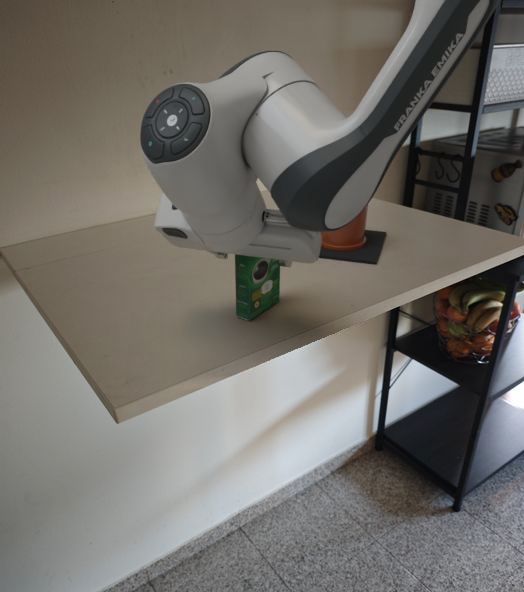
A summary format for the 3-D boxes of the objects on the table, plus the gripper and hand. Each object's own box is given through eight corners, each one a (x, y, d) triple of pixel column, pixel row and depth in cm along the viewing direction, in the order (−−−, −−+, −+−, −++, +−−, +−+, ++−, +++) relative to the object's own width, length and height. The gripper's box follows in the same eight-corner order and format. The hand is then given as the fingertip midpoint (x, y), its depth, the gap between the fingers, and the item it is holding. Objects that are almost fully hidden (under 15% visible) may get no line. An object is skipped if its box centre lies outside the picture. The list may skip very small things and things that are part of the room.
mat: (386, 234, 102) (386, 231, 102) (376, 264, 90) (376, 262, 89) (310, 226, 107) (310, 223, 106) (290, 254, 94) (290, 251, 94)
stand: (369, 235, 100) (373, 198, 96) (361, 253, 93) (366, 214, 89) (321, 230, 103) (323, 193, 99) (310, 247, 95) (312, 208, 91)
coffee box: (266, 296, 80) (266, 215, 72) (281, 301, 78) (282, 219, 71) (234, 316, 74) (231, 231, 67) (250, 322, 73) (248, 236, 66)
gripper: (320, 193, 55) (331, 245, 68) (154, 178, 60) (194, 229, 73) (309, 246, 54) (322, 288, 67) (141, 226, 59) (184, 269, 72)
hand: (254, 257), depth 70 cm, fingers open, 8 cm apart
